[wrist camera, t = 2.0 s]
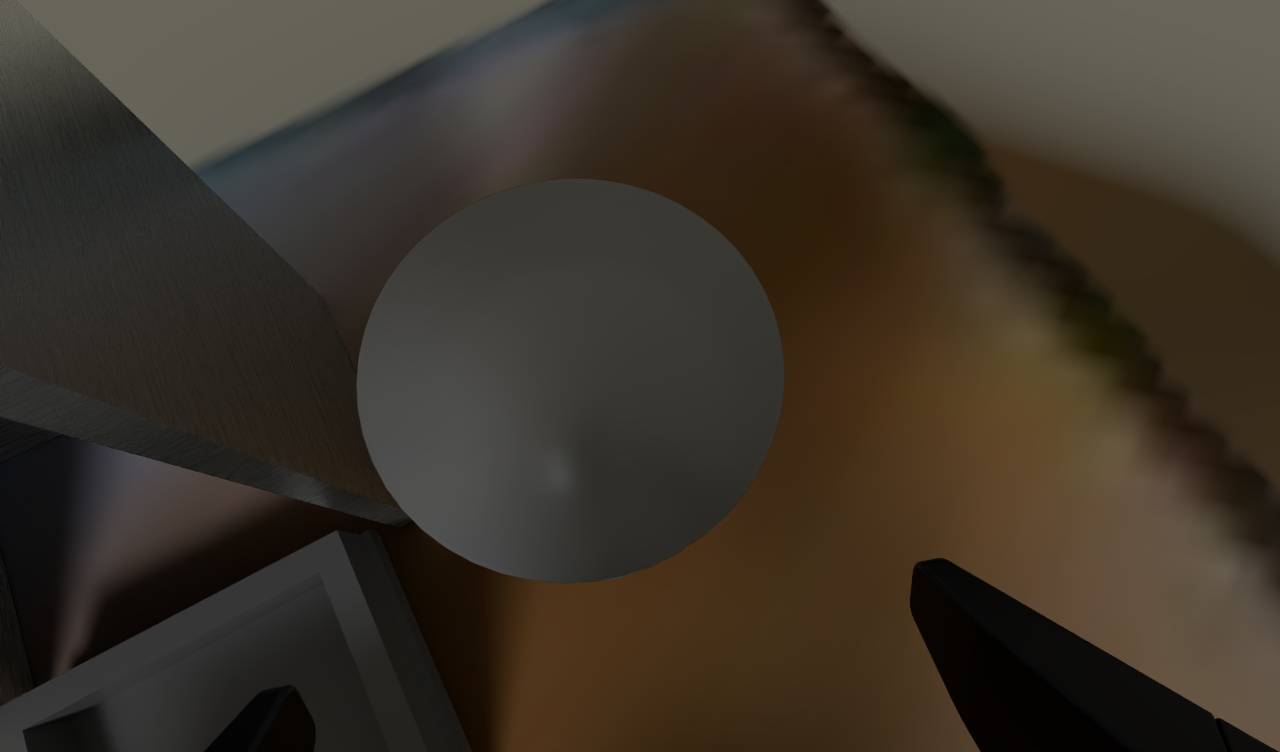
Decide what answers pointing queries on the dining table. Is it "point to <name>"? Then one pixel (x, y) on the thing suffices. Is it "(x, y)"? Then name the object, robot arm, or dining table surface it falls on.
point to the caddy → (153, 311)
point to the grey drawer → (258, 666)
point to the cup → (570, 380)
